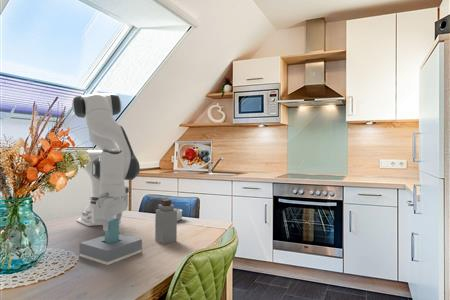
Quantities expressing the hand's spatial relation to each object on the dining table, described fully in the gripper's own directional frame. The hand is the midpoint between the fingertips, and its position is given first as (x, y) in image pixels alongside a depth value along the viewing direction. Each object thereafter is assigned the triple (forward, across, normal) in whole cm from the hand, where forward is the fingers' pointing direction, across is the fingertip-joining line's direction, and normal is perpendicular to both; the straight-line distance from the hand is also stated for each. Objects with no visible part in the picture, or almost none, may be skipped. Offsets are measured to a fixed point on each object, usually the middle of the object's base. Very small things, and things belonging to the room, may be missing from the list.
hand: (112, 227), depth 118 cm
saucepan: (+11, +60, -7) cm, 62 cm away
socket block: (+10, 0, 0) cm, 10 cm away
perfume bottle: (+11, +19, -16) cm, 27 cm away
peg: (+9, 0, 0) cm, 9 cm away
